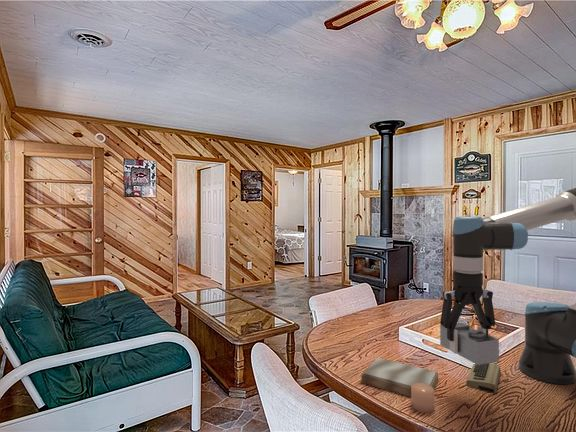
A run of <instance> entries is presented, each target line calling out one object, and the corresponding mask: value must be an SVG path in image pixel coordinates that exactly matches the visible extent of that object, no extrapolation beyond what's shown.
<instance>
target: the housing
mask: <svg viewBox="0 0 576 432" xmlns="http://www.w3.org/2000/svg"><path fill="white" fill-rule="evenodd" d="M439 326H440V327H439V328H440V329H439V331H440V332H439V334H440V335H439V338H440V339H439V342H440V346H441V347H443V348H445V349H447V350H449V351H451V350H450V340H448V339H447V328H445V327H443V326H442V325H439ZM455 329H456V330H457V331H458V354H457V355H458V356H460V357H462V358H464V359H465V360H467V361H469V362H471V363H475V364H477V365H481V364H487V363H493V364H494V363H497V362H498V363H499V362H500V339H499V338H497V337H495V336H492V335H490V334H489V333H488V334H485V333H484V332H481V331H478V330H477V329H475V328H473V327H471V326H470V325H468V324H466V323H464V322H457V325H456V327H455Z"/></svg>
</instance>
